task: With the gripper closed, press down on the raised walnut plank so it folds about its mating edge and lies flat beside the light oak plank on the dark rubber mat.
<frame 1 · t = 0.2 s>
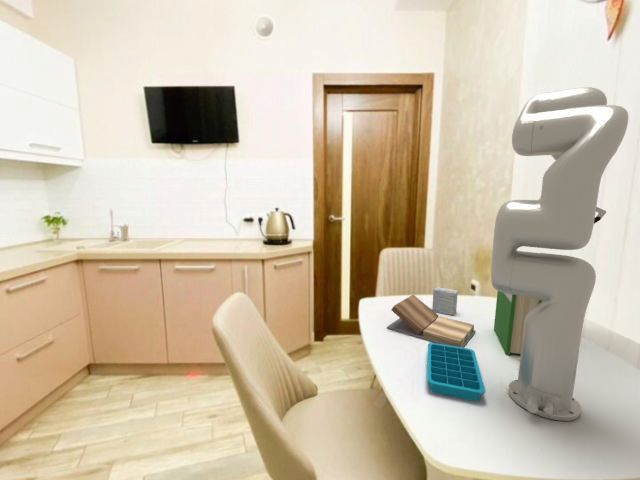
hand: (564, 236, 97), 31 cm above the table, fingers open, 9 cm apart
hardback book: (513, 343, 94), on the table
ice cube tray: (451, 376, 77), on the table
walnut plank: (415, 313, 104), point 5 cm above the table, hinge at 30.0°
medicine box: (444, 312, 118), on the table
oak plank: (448, 335, 98), resting on underlay mat
underlay mat: (430, 330, 101), on the table
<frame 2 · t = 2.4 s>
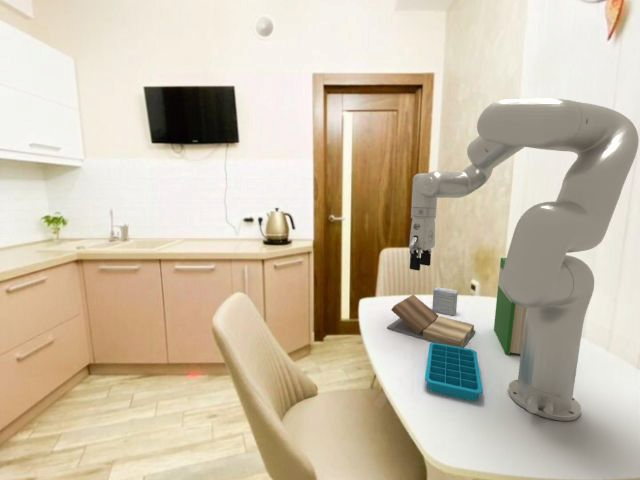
hand: (420, 267, 102), 20 cm above the table, fingers open, 8 cm apart
nothing on the table moved.
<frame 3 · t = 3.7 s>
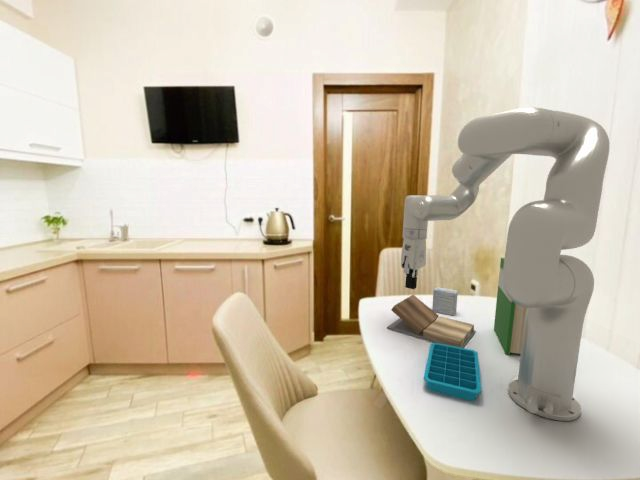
hand: (410, 287, 105), 12 cm above the table, fingers closed
nothing on the table moved.
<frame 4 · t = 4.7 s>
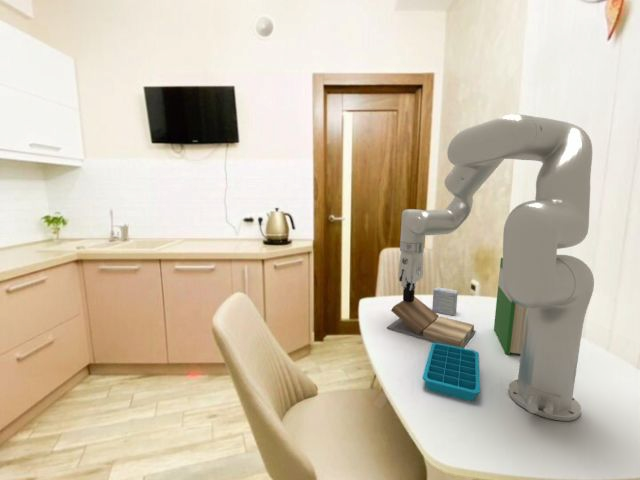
hand: (408, 300, 106), 8 cm above the table, fingers closed
walnut plank: (415, 313, 104), point 4 cm above the table, hinge at 28.9°, touching gripper
everything else where it was.
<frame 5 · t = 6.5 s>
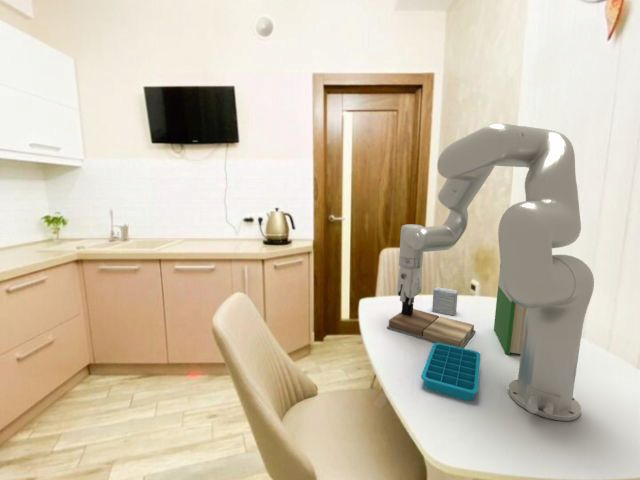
hand: (407, 314, 107), 3 cm above the table, fingers closed
walnut plank: (414, 320, 105), point 2 cm above the table, hinge at 1.8°, touching gripper
everything else where it was.
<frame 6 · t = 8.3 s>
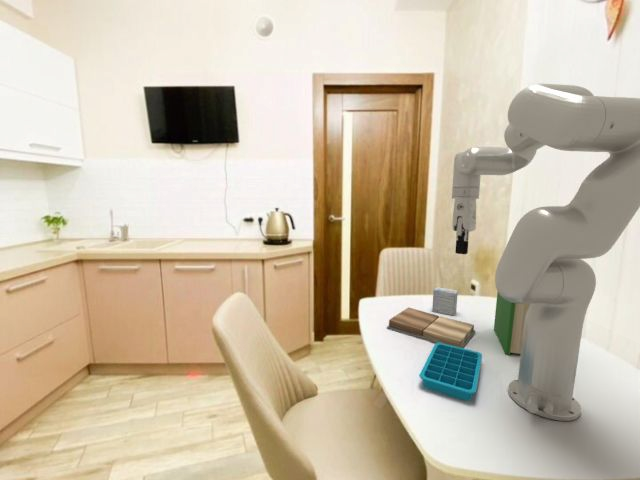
hand: (461, 253, 98), 25 cm above the table, fingers closed
walnut plank: (414, 320, 105), point 2 cm above the table, hinge at 1.8°
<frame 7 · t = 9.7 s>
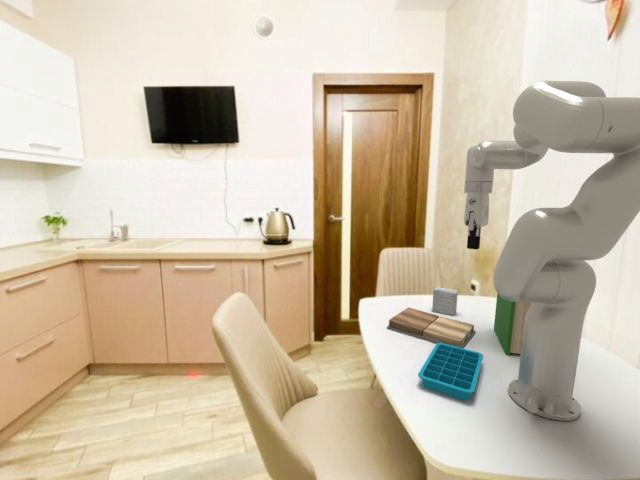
hand: (473, 248, 97), 27 cm above the table, fingers closed
at the end: walnut plank at +2° (first picture: +30°); medicine box moved 0.3 cm from its start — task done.
